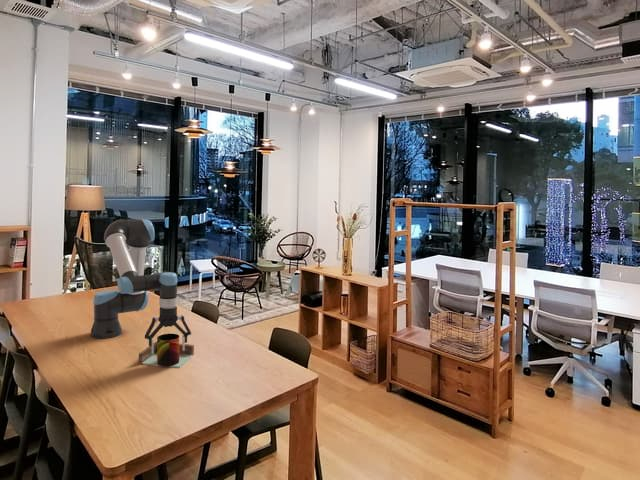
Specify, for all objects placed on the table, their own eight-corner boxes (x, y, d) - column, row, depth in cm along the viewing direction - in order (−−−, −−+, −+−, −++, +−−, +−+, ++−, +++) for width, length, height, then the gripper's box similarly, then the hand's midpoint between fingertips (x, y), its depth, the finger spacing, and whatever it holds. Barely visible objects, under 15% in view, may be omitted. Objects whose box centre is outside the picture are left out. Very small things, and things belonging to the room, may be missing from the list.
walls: (138, 364, 193) (138, 353, 192) (155, 351, 208) (155, 341, 208) (179, 367, 191) (179, 357, 190) (194, 354, 206) (194, 344, 206)
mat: (142, 364, 193) (142, 363, 193) (157, 352, 206) (157, 351, 206) (179, 367, 191) (179, 366, 191) (192, 356, 204) (192, 354, 204)
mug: (177, 353, 205) (177, 329, 204) (180, 364, 192) (180, 339, 191) (156, 356, 201) (156, 331, 200) (157, 367, 188) (157, 341, 187)
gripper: (138, 310, 185) (139, 357, 187) (197, 306, 195) (197, 350, 197) (138, 306, 192) (138, 351, 194) (195, 302, 202) (194, 345, 204)
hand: (168, 351), depth 196 cm, fingers open, 13 cm apart
